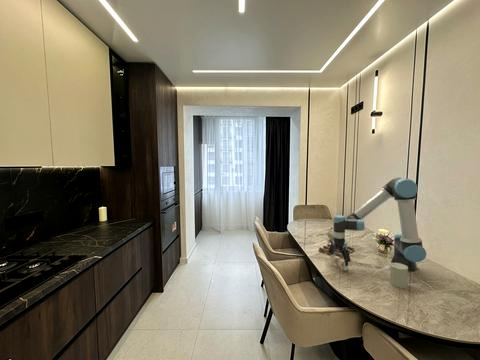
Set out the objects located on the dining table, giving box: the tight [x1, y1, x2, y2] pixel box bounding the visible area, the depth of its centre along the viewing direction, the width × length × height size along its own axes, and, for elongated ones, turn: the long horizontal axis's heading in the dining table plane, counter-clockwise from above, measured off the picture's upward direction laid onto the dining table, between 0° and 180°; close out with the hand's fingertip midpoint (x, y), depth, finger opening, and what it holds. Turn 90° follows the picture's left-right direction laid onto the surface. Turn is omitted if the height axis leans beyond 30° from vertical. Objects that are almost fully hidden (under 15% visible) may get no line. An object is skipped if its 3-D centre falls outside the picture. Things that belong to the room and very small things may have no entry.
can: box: [388, 262, 409, 289], centre depth 137 cm, size 9×9×12 cm
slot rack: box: [317, 243, 356, 259], centre depth 192 cm, size 20×24×3 cm
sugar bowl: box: [326, 227, 334, 242], centre depth 218 cm, size 20×15×15 cm
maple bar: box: [331, 256, 345, 271], centre depth 162 cm, size 10×4×6 cm, turn 19°
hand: (338, 266), depth 162 cm, fingers open, 12 cm apart
